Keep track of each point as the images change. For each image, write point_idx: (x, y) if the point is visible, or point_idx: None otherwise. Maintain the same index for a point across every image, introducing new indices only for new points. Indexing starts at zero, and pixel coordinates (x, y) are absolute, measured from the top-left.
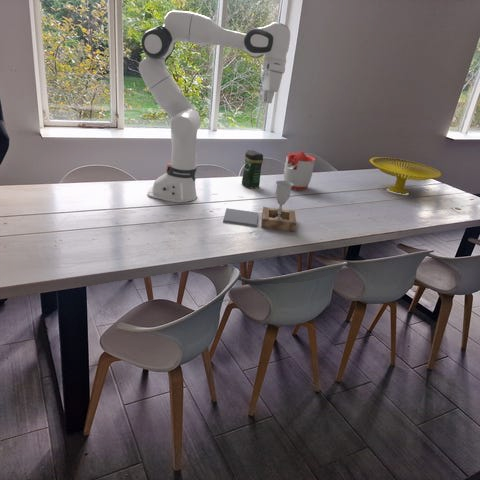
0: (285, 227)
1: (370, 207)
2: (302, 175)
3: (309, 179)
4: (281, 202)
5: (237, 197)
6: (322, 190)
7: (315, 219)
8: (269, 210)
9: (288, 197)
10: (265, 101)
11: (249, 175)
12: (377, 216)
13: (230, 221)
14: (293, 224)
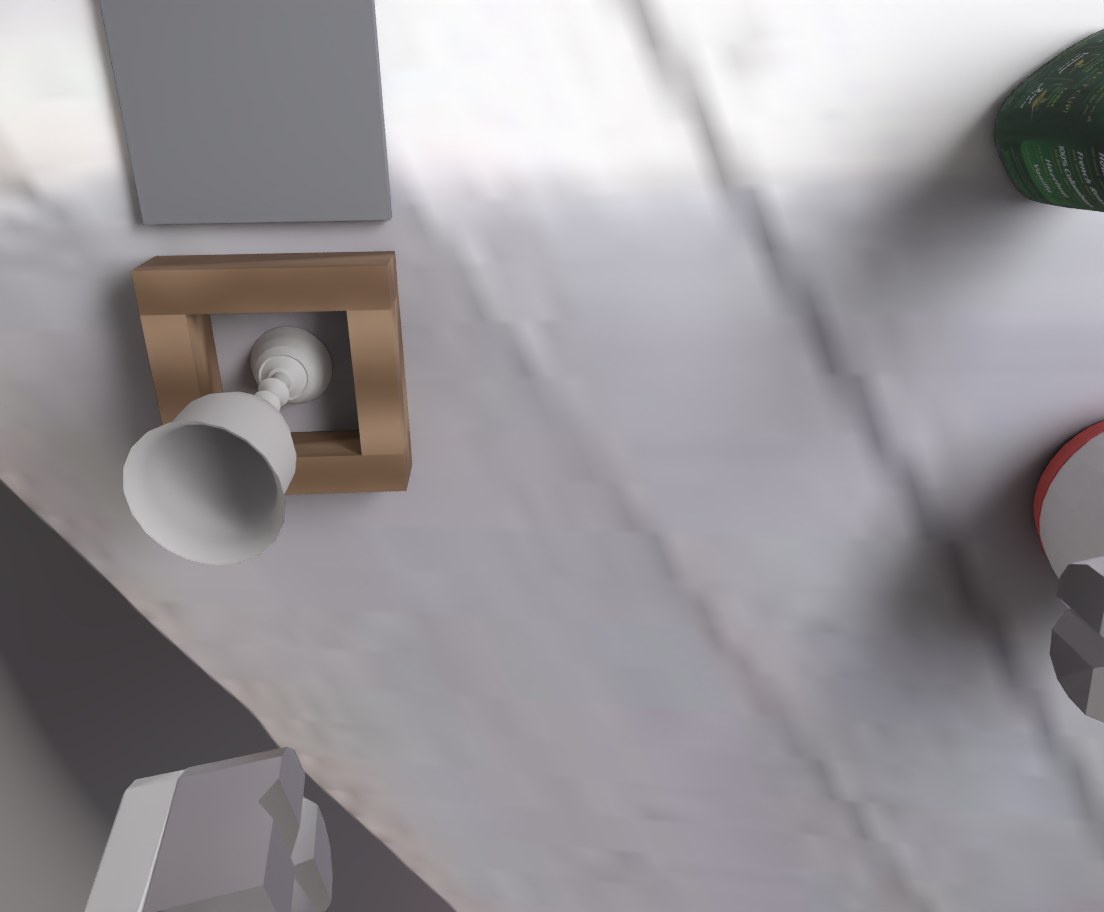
0: None
1: (813, 882)
2: None
3: None
4: (214, 427)
5: (726, 19)
6: None
7: (478, 593)
8: (349, 314)
9: (220, 491)
10: (1082, 617)
11: (1073, 103)
12: (673, 896)
13: (103, 10)
14: None
